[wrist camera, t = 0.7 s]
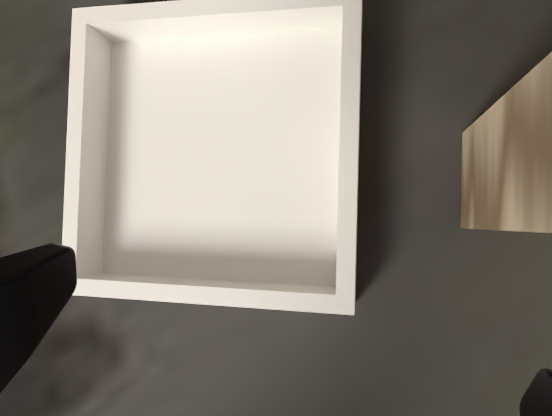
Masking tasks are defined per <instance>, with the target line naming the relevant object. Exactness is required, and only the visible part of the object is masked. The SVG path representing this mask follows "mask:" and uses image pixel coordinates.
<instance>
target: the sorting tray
mask: <svg viewBox="0 0 552 416" xmlns="http://www.w3.org/2000/svg"><path fill="white" fill-rule="evenodd" d="M361 54H362V0H175V1H162V2H149V3H136V4H123V5H111V6H98V7H85V8H72V28H71V51H70V74H69V97H68V120H67V143H66V166H65V189H64V212H63V235H62V245H65V246H68V247H71V248H72V249H73V250H74V251H75V256H76V270H77V285H76V288H75V291H74V293H73V294H72V295H78V296H92V297H106V298H120V299H134V300H148V301H162V302H176V303H190V304H204V305H218V306H232V307H246V308H260V309H274V310H288V311H302V312H316V313H330V314H344V315H354V313H355V303H356V263H357V221H358V179H359V137H360V96H361Z"/></svg>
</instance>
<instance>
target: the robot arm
mask: <svg viewBox="0 0 552 416" xmlns="http://www.w3.org/2000/svg"><path fill="white" fill-rule="evenodd" d="M76 285H77V270H76V256H75V251H74V250H73V249H72V248H71V247H68V246H65V245H61V244H57V243H50V244H47V245H43V246H40V247H36V248H33V249H29V250H25V251H22V252H18V253H15V254H11V255H8V256H4V257H1V258H0V393H1V392H2V390H3V389H4V388H5V387H6V386H7V384H8V383H9V382H10V381H11V379H12V378H13V377H14V376H15V375H16V373H17V372H18V371H19V370H20V369H21V367H22V366H23V365H24V364H25V362H26V361H27V360H28V359H29V357H30V356H31V355H32V353H33V352H34V351H35V349H36V348H37V346H38V345H39V343H40V342H41V340H42V339H43V337H44V336H45V334H46V333H47V332H48V330H49V329H50V327H51V326H52V324H53V323H54V321H55V320H56V318H57V317H58V315H59V314H60V312H61V311H62V309H63V308H64V306H65V305H66V303H67V302H68V300H69V299H70V297H71V296H72V294H73V293H74V291H75V288H76ZM520 416H552V370H550V369H541V370H540V371H538V373H537V374H536V375H535V377H534V379H533V380H532V382H531V384H530V385H529V387H528V389H527V390H526V392H525V394H524V395H523V397H522V399H521V402H520Z"/></svg>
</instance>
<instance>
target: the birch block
mask: <svg viewBox="0 0 552 416" xmlns="http://www.w3.org/2000/svg"><path fill="white" fill-rule="evenodd" d="M461 228H463V229H482V230H501V231H520V232H540V233H552V52H551V53H549V54H548V55H547V56H546V57H545V58H544V59H543V60H542V61H541V62H540V63H538V64H537V65H536V66H535V67H534V68H533V69H532V70H531V71H530V72H529V73H527V74H526V75H525V76H524V77H523V78H522V79H521V80H520V81H519V82H518V83H516V84H515V85H514V86H513V87H512V88H511V89H510V90H509V91H508V92H507V93H505V94H504V95H503V96H502V97H501V98H500V99H499V100H498V101H497V102H496V103H494V104H493V105H492V106H491V107H490V108H489V109H488V110H487V111H486V112H485V113H483V114H482V115H481V116H480V117H479V118H478V119H477V120H476V121H475V122H474V123H472V124H471V125H470V126H469V127H468V128H467V129H466V130H465V131H464V132H463V133H462V184H461Z"/></svg>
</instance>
